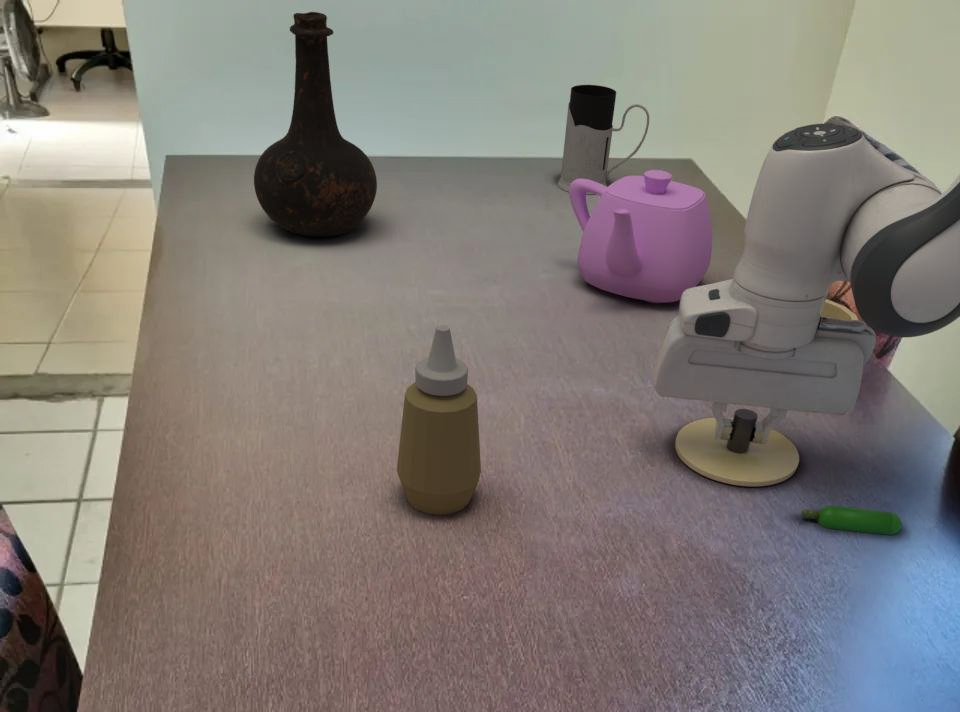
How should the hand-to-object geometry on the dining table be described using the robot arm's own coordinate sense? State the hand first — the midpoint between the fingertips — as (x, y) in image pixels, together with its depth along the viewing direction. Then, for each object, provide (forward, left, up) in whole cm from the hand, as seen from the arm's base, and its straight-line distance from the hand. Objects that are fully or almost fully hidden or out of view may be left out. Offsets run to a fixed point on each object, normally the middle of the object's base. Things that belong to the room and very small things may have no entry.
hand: (739, 439), depth 102 cm
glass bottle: (+59, -56, -3) cm, 81 cm away
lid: (0, 0, -2) cm, 2 cm away
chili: (-11, +11, -3) cm, 16 cm away
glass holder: (+17, -87, -3) cm, 89 cm away
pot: (-8, -20, -3) cm, 22 cm away
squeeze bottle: (+30, +14, -3) cm, 33 cm away
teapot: (+10, -45, -3) cm, 46 cm away
